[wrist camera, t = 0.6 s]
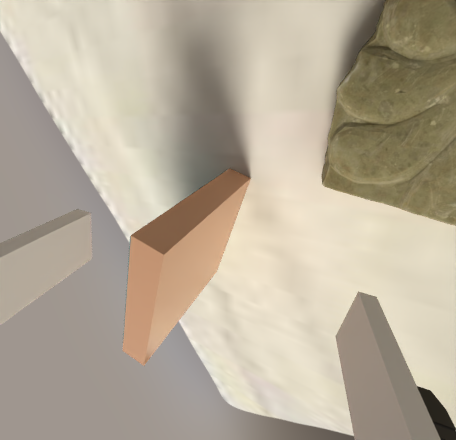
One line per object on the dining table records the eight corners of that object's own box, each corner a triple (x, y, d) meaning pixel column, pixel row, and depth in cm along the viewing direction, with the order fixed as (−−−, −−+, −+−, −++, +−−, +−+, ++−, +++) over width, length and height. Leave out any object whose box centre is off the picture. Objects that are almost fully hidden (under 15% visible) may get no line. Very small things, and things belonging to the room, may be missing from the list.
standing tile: (227, 167, 27) (126, 233, 16) (250, 178, 26) (163, 255, 15) (199, 261, 35) (120, 348, 24) (216, 271, 34) (144, 365, 23)
